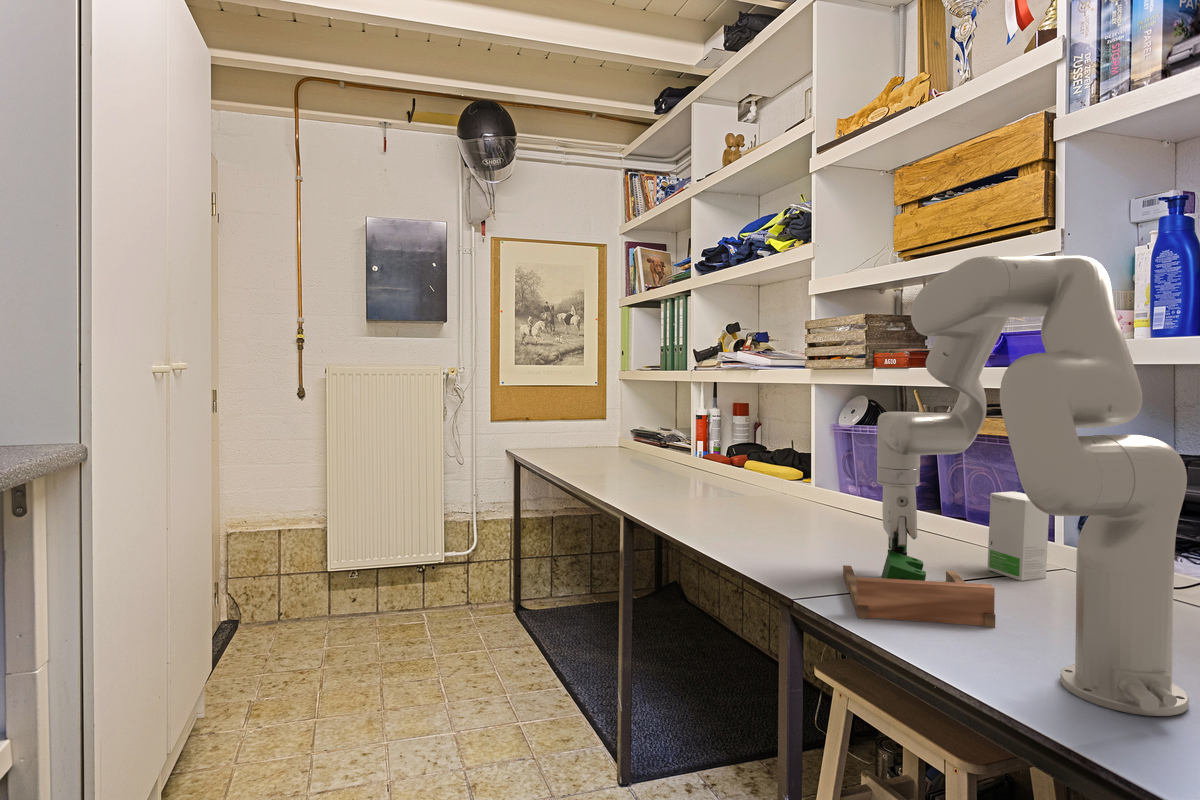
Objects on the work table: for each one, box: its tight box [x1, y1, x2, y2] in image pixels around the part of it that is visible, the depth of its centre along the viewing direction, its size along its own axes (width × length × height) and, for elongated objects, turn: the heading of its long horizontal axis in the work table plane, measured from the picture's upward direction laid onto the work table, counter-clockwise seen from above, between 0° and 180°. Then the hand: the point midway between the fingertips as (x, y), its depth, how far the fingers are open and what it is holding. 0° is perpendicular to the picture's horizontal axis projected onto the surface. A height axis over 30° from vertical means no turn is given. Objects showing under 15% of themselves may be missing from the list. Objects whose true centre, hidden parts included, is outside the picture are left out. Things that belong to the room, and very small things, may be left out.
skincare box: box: [986, 491, 1050, 582], centre depth 137 cm, size 8×7×16 cm
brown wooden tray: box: [842, 564, 996, 628], centre depth 124 cm, size 25×20×6 cm
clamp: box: [880, 550, 927, 581], centre depth 128 cm, size 12×6×9 cm, turn 153°
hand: (897, 571), depth 136 cm, fingers closed
